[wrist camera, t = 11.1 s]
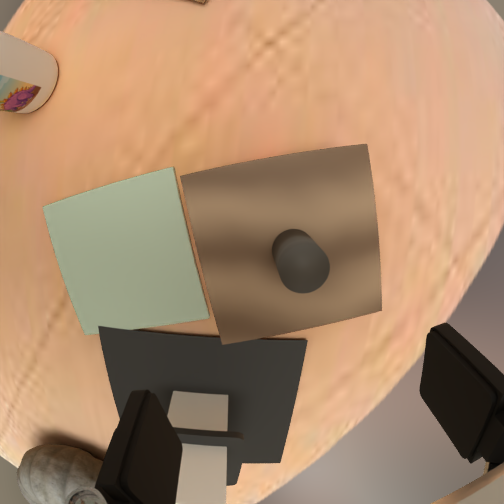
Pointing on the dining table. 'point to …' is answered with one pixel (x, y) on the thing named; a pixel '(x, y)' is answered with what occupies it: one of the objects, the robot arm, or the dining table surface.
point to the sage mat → (127, 254)
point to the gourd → (56, 473)
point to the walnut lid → (287, 241)
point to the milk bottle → (24, 75)
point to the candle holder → (210, 399)
